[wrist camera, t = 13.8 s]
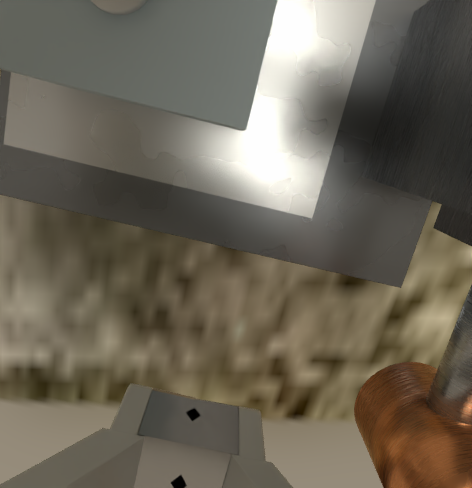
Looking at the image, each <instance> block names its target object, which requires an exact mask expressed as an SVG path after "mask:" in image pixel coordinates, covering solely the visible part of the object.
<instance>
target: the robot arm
mask: <svg viewBox="0 0 472 488" xmlns="http://www.w3.org/2000/svg"><path fill="white" fill-rule="evenodd" d="M0 488H293V487H292V486H291V485H290V484H289V483H288V481H287V480H286V479H285V478H284V477H283V475H282V474H281V473H280V472H279V470H278V469H277V468H276V467H275V466H274V465H273V463H271V462H266V461H265V451H264V441H263V430H262V418H261V412H260V411H259V410H257V409H251V408H246V407H240V406H238V407H237V406H232V405H227V404H222V403H217V402H211V401H206V400H201V399H196V398H194V397H190V396H186V395H181V394H177V393H173V392H169V391H164V390H160V389H156V388H153V389H152V387H147V386H142V385H137V384H132V383H131V384H130V385H129V386H128V388H127V390H126V393H125V395H124V397H123V400H122V402H121V404H120V407H119V409H118V411H117V414H116V416H115V418H114V421H113V423H112V425H111V428H110V429H105V428H102V429H101V430H99V431H97V432H95V433H93V434H91V435H90V436H88V437H86V438H84V439H82V440H81V441H79V442H77V443H75V444H73V445H72V446H70V447H68V448H66V449H65V450H62V451H61V452H59V453H57V454H55V455H53V456H52V457H50V458H48V459H46V460H44V461H42V462H41V463H39V464H37V465H35V466H33V467H32V468H30V469H28V470H27V471H24V472H23V473H21V474H19V475H17V476H15V477H13V478H12V479H10V480H8V481H6V482H4V483H3V484H1V485H0Z"/></svg>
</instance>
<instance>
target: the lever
mask: <svg viewBox="0 0 472 488" xmlns="http://www.w3.org/2000/svg"><path fill="white" fill-rule="evenodd" d="M354 415H355V420H356V423H357V426H358V429H359V431H360V433H361V435H362V438H363V440H364V443H365V445H366V447H367V450H368V452H369V454H370V457H371V459H372V462H373V464H374V466H375V469H376V471H377V473H378V475H379V478H380V480H381V483H382V485H383V487H384V488H472V285H471V288H470V290H469V293H468V295H467V298H466V300H465V303H464V305H463V308H462V310H461V312H460V315H459V317H458V320H457V322H456V325H455V327H454V330H453V332H452V335H451V337H450V340H449V342H448V345H447V347H446V350H445V352H444V355H443V357H442V360H441V362H440V365H439V367H438V369H436V368H434V367H432V366H430V365H427V364H423V363H417V362H404V363H398V364H394V365H391V366H388V367H386V368H384V369H382V370H380V371H378V372H377V373H375V374H374V375H373V376H371V377H370V378H369V379H368V380H367V381H366V383H365V384H364V385H363V386H362V388H361V390H360V391H359V393H358V396H357V398H356V402H355V408H354Z"/></svg>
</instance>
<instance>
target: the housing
mask: <svg viewBox="0 0 472 488" xmlns="http://www.w3.org/2000/svg"><path fill="white" fill-rule="evenodd" d="M277 1H278V0H0V69H2V70H5V71H9V72H13V73H16V74H20V75H24V76H27V77H31V78H35V79H38V80H42V81H46V82H49V83H53V84H57V85H61V86H65V87H69V88H73V89H77V90H81V91H85V92H89V93H93V94H97V95H101V96H105V97H109V98H113V99H117V100H121V101H125V102H129V103H133V104H136V105H140V106H144V107H148V108H152V109H156V110H160V111H164V112H168V113H172V114H176V115H180V116H184V117H188V118H192V119H196V120H200V121H204V122H208V123H212V124H216V125H220V126H224V127H228V128H232V129H236V130H240V131H244V130H246V129H247V125H248V121H249V117H250V113H251V109H252V104H253V100H254V96H255V92H256V88H257V84H258V80H259V75H260V71H261V67H262V63H263V59H264V55H265V51H266V46H267V42H268V38H269V34H270V30H271V26H272V21H273V17H274V13H275V9H276V5H277Z"/></svg>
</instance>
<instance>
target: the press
mask: <svg viewBox="0 0 472 488" xmlns="http://www.w3.org/2000/svg"><path fill="white" fill-rule="evenodd" d="M0 195H4V196H9V197H13V198H17V199H22V200H26V201H30V202H34V203H39V204H43V205H47V206H52V207H56V208H60V209H65V210H69V211H73V212H77V213H82V214H86V215H90V216H95V217H99V218H103V219H107V220H112V221H116V222H120V223H125V224H129V225H133V226H138V227H142V228H146V229H150V230H155V231H159V232H163V233H168V234H172V235H176V236H181V237H185V238H189V239H193V240H198V241H202V242H206V243H211V244H215V245H219V246H223V247H228V248H232V249H236V250H241V251H245V252H249V253H254V254H258V255H262V256H266V257H271V258H275V259H279V260H284V261H288V262H292V263H297V264H301V265H305V266H309V267H314V268H318V269H322V270H327V271H331V272H335V273H340V274H344V275H348V276H352V277H357V278H361V279H365V280H370V281H374V282H378V283H382V284H387V285H391V286H395V287H400V288H401V286H402V284H403V281H404V278H405V275H406V273H407V270H408V267H409V264H410V261H411V259H412V256H413V253H414V250H415V248H416V245H417V242H418V239H419V236H420V234H421V231H422V228H423V225H424V223H425V220H426V217H427V214H428V211H429V209H430V206H431V203H432V201H434V202H437V203H440V204H442V206H441V209H440V211H439V214H438V217H437V219H436V222H435V225H434V228H435V229H437V230H439V231H441V232H443V233H445V234H447V235H449V236H451V237H454V238H456V239H458V240H460V241H462V242H464V243H466V244H468V245H470V246H472V0H278V1H277V5H276V9H275V13H274V17H273V21H272V26H271V30H270V34H269V38H268V42H267V46H266V51H265V55H264V59H263V63H262V67H261V71H260V75H259V80H258V84H257V88H256V92H255V96H254V100H253V104H252V109H251V113H250V117H249V121H248V125H247V129H246V130H244V131H240V130H236V129H232V128H228V127H224V126H220V125H216V124H212V123H208V122H204V121H200V120H196V119H192V118H188V117H184V116H180V115H176V114H172V113H168V112H164V111H160V110H156V109H152V108H148V107H144V106H140V105H136V104H133V103H129V102H125V101H121V100H117V99H113V98H109V97H105V96H101V95H97V94H93V93H89V92H85V91H81V90H77V89H73V88H69V87H65V86H61V85H57V84H53V83H49V82H46V81H42V80H38V79H35V78H31V77H27V76H24V75H20V74H16V73H13V72H9V71H5V70H2V69H1V79H0Z"/></svg>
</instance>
